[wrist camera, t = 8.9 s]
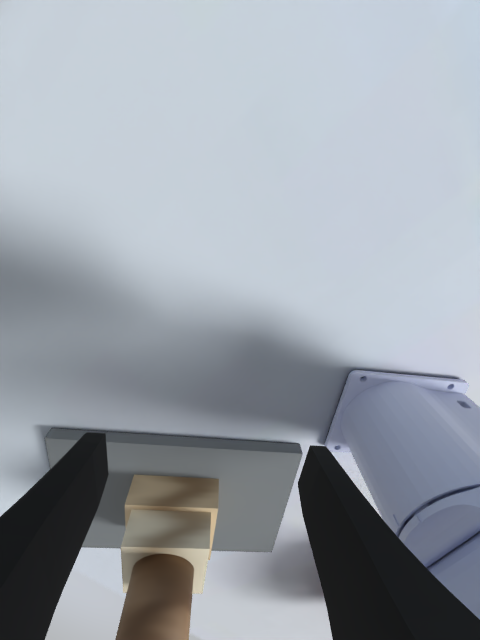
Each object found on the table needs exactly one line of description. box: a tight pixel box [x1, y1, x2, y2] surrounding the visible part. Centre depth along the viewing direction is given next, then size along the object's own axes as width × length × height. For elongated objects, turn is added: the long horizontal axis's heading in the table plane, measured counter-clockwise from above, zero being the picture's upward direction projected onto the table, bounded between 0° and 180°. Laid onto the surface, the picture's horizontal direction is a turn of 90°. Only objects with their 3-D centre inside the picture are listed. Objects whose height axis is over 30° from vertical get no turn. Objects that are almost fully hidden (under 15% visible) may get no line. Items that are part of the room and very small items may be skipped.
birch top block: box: [121, 509, 211, 594], centre depth 22 cm, size 6×6×2 cm
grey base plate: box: [45, 428, 302, 552], centre depth 26 cm, size 20×14×1 cm
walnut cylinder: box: [116, 554, 194, 640], centre depth 19 cm, size 4×4×5 cm
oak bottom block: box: [125, 475, 219, 560], centre depth 25 cm, size 7×7×2 cm
